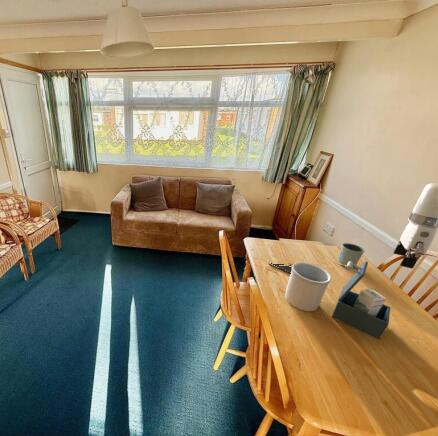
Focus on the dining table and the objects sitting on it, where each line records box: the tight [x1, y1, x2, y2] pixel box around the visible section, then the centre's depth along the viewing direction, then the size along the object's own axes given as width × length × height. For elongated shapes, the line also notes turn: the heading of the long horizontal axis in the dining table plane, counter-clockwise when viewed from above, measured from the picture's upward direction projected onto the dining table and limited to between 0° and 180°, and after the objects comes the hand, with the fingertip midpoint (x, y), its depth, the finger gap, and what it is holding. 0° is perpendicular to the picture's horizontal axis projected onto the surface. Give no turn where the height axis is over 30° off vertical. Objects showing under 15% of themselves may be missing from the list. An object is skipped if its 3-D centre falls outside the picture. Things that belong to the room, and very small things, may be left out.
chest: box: [331, 290, 391, 340], centre depth 98 cm, size 16×13×9 cm
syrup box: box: [353, 288, 386, 317], centre depth 96 cm, size 6×6×14 cm
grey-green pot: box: [337, 242, 365, 267], centre depth 135 cm, size 10×10×12 cm
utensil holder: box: [284, 261, 332, 312], centre depth 107 cm, size 15×15×18 cm
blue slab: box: [337, 261, 369, 302], centre depth 99 cm, size 16×13×6 cm
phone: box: [271, 263, 293, 274], centre depth 135 cm, size 8×1×15 cm
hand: (402, 260), depth 86 cm, fingers open, 9 cm apart
